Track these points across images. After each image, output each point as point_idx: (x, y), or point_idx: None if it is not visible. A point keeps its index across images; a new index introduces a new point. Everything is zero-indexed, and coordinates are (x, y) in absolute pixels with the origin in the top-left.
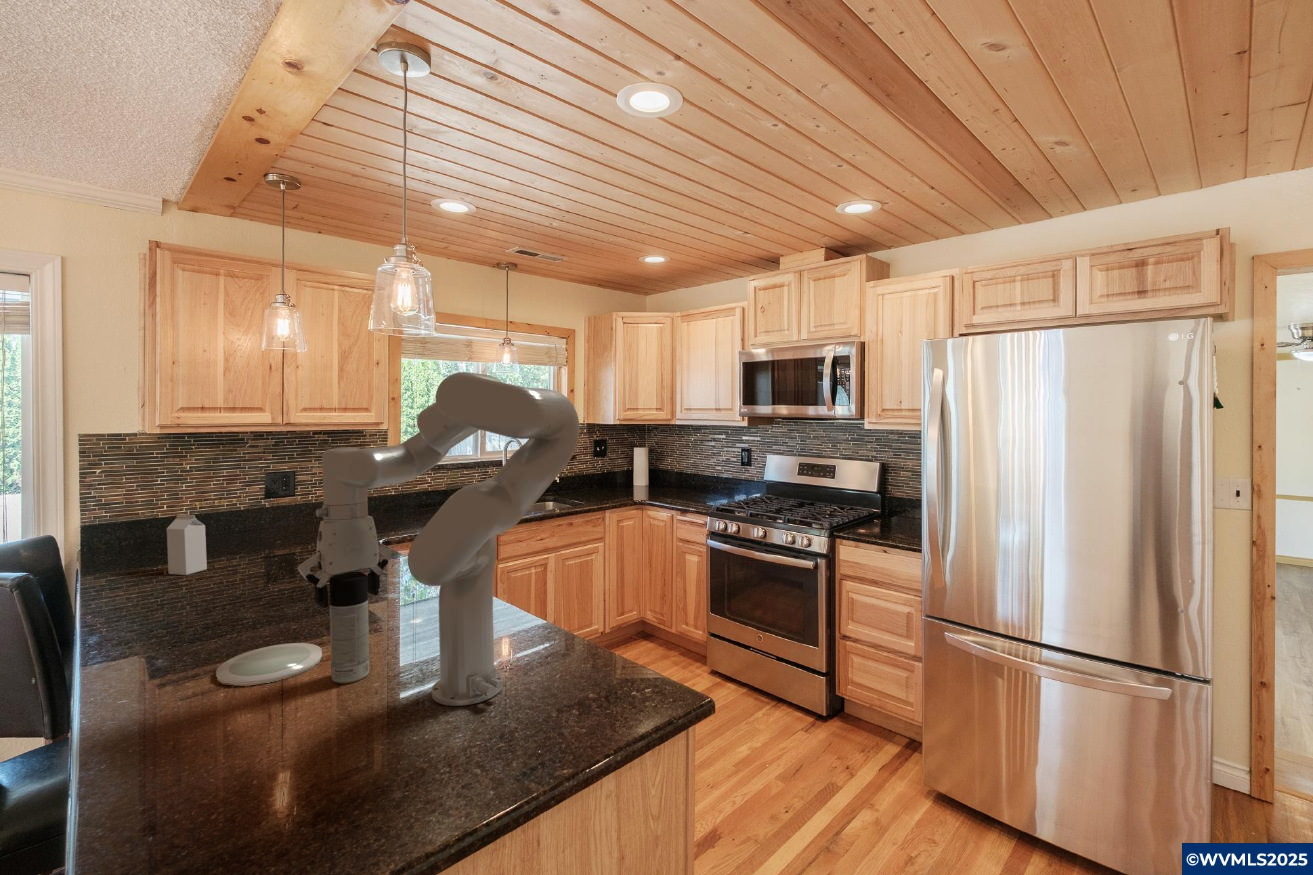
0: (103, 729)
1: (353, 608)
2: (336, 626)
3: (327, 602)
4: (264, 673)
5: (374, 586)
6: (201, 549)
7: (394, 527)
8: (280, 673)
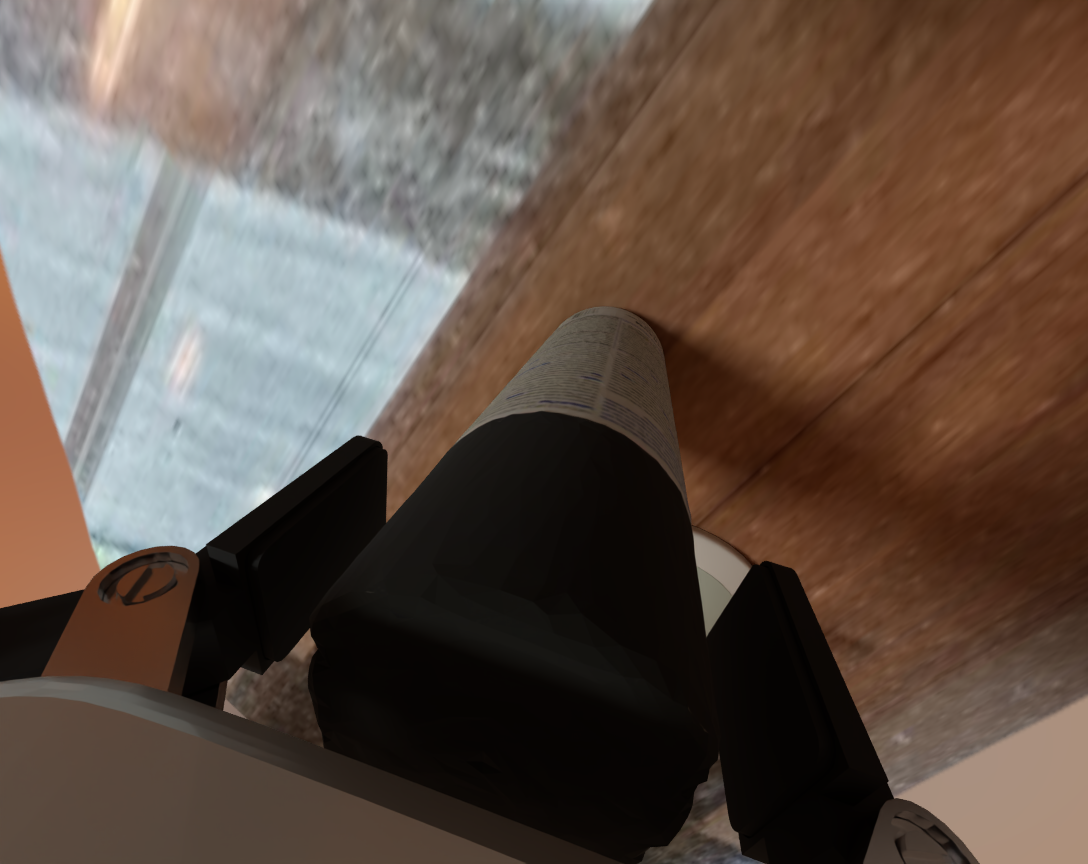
0: (1064, 680)
1: (613, 420)
2: (679, 450)
3: (774, 589)
4: (716, 580)
5: (337, 487)
6: None
7: None
8: (698, 545)
